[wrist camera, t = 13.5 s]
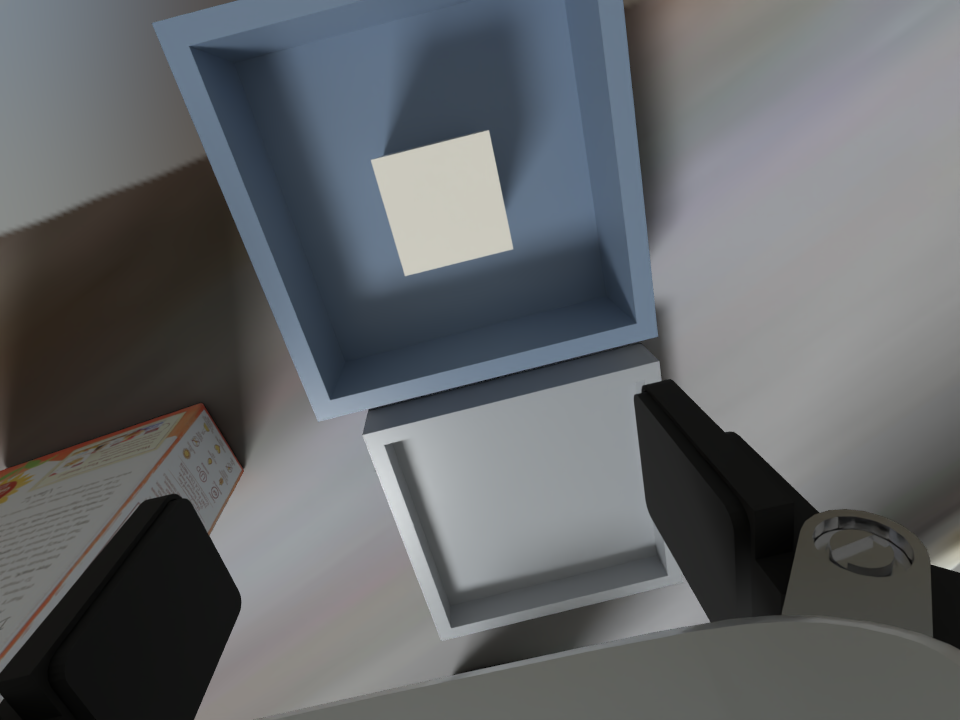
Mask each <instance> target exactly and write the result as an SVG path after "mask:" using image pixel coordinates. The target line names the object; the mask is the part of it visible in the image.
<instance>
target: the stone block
mask: <svg viewBox="0 0 960 720" xmlns="http://www.w3.org/2000/svg"><path fill="white" fill-rule="evenodd" d="M371 163H372V166H373V170H374V173H375V176H376V180H377V183H378V186H379V190H380V193H381V197H382V200H383V203H384V207H385V210H386V214H387V217H388V220H389V224H390V227H391V230H392V234H393V237H394V241H395V244H396V247H397V251H398V254H399V257H400V261H401V264H402V268H403V271H404V274H405V276H408V275H412V274H416V273H420V272H424V271H428V270H432V269H436V268H440V267H444V266H448V265H452V264H456V263H460V262H464V261H468V260H472V259H476V258H480V257H484V256H488V255H492V254H496V253H500V252H504V251H508V250H512V249H513V245H512V240H511V235H510V230H509V225H508V220H507V215H506V211H505V206H504V201H503V196H502V191H501V186H500V181H499V176H498V172H497V167H496V162H495V157H494V152H493V147H492V142H491V138H490V133H489V130H486V131H479V132H474V133H470V134H466V135H462V136H458V137H454V138H450V139H447V140H443V141H439V142H435V143H431V144H427V145H423V146H419V147H415V148H411V149H407V150H403V151H399V152H395V153H391V154H387V155H383V156H381V157H378V158H375V159H372V160H371Z"/></svg>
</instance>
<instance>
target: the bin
mask: <svg viewBox="0 0 960 720" xmlns="http://www.w3.org/2000/svg"><path fill="white" fill-rule="evenodd" d="M152 25H153V27H154V30H155V32H156V34H157V37H158V39H159V42H160V44H161V46H162V49H163V51H164V53H165V56H166V58H167V61H168V63H169V65H170V68H171V70H172V73H173V75H174V78H175V80H176V82H177V85H178V87H179V90H180V92H181V94H182V97H183V99H184V101H185V104H186V106H187V109H188V111H189V114H190V116H191V118H192V120H193V123H194V125H195V127H196V130H197V133H198V135H199V137H200V140H201V142H202V145H203V147H204V149H205V152H206V154H207V157H208V159H209V161H210V164H211V166H212V169H213V171H214V173H215V176H216V178H217V181H218V183H219V185H220V188H221V190H222V193H223V195H224V197H225V200H226V202H227V205H228V207H229V209H230V212H231V214H232V217H233V219H234V221H235V224H236V226H237V228H238V231H239V233H240V236H241V238H242V240H243V243H244V245H245V248H246V250H247V252H248V255H249V257H250V260H251V262H252V264H253V267H254V269H255V272H256V274H257V276H258V279H259V281H260V284H261V286H262V288H263V291H264V293H265V296H266V298H267V300H268V303H269V305H270V308H271V310H272V312H273V315H274V317H275V320H276V322H277V324H278V327H279V329H280V331H281V334H282V336H283V339H284V341H285V343H286V346H287V348H288V351H289V353H290V355H291V358H292V360H293V363H294V365H295V367H296V370H297V372H298V375H299V377H300V379H301V382H302V384H303V387H304V389H305V391H306V394H307V396H308V399H309V401H310V403H311V406H312V408H313V411H314V413H315V415H316V418H317V420H318V422H319V421H323V420H327V419H331V418H335V417H339V416H343V415H347V414H351V413H355V412H359V411H363V410H367V409H371V408H375V407H379V406H383V405H387V404H391V403H395V402H399V401H403V400H407V399H411V398H415V397H419V396H423V395H427V394H431V393H435V392H439V391H443V390H447V389H451V388H455V387H459V386H463V385H467V384H471V383H475V382H479V381H483V380H487V379H491V378H495V377H499V376H503V375H507V374H511V373H515V372H519V371H523V370H527V369H531V368H535V367H539V366H543V365H547V364H551V363H555V362H559V361H563V360H567V359H571V358H575V357H579V356H583V355H587V354H591V353H595V352H599V351H603V350H607V349H611V348H615V347H619V346H623V345H627V344H631V343H635V342H639V341H643V340H647V339H651V338H655V337H658V331H657V321H656V312H655V302H654V293H653V283H652V273H651V264H650V254H649V245H648V235H647V225H646V216H645V206H644V197H643V187H642V178H641V168H640V158H639V149H638V139H637V130H636V120H635V111H634V101H633V91H632V82H631V72H630V63H629V53H628V43H627V34H626V24H625V15H624V5H623V0H237V1H233V2H230V3H226V4H222V5H218V6H214V7H211V8H207V9H203V10H199V11H196V12H192V13H188V14H184V15H180V16H177V17H173V18H169V19H165V20H162V21H158V22H154V23H152ZM486 130H489V133H490V138H491V142H492V147H493V152H494V157H495V162H496V167H497V172H498V176H499V181H500V186H501V191H502V196H503V201H504V206H505V211H506V215H507V220H508V225H509V230H510V235H511V240H512V245H513V249H512V250H508V251H504V252H500V253H496V254H492V255H488V256H484V257H480V258H476V259H472V260H468V261H464V262H460V263H456V264H452V265H448V266H444V267H440V268H436V269H432V270H428V271H424V272H420V273H416V274H412V275H408V276H405V274H404V271H403V268H402V264H401V261H400V257H399V254H398V251H397V247H396V244H395V241H394V237H393V234H392V230H391V227H390V224H389V220H388V217H387V214H386V210H385V207H384V203H383V200H382V197H381V193H380V190H379V186H378V183H377V180H376V176H375V173H374V170H373V166H372V163H371V160H372V159H375V158H378V157H381V156H383V155H387V154H391V153H395V152H399V151H403V150H407V149H411V148H415V147H419V146H423V145H427V144H431V143H435V142H439V141H443V140H447V139H450V138H454V137H458V136H462V135H466V134H470V133H474V132H479V131H486Z"/></svg>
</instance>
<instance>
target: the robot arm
mask: <svg viewBox="0 0 960 720" xmlns="http://www.w3.org/2000/svg"><path fill="white" fill-rule="evenodd" d="M634 408H635V416H636V425H637V433H638V442H639V450H640V459H641V467H642V476H643V484H644V493H645V501H646V505H647V509H648V512H649V514H650V517H651V519H652V520H653V522H654V524H655V526H656V527H657V529H658V531H659V533H660V534H661V536H662V538H663V540H664V541H665V543H666V545H667V547H668V548H669V550H670V552H671V554H672V555H673V557H674V559H675V561H676V562H677V564H678V566H679V568H680V569H681V571H682V573H683V575H684V576H685V578H686V580H687V582H688V583H689V585H690V587H691V589H692V590H693V592H694V594H695V596H696V597H697V599H698V601H699V603H700V604H701V606H702V608H703V610H704V611H705V613H706V615H707V617H708V618H709V620H710V622H711V623H705V624H699V625H694V626H688V627H681V628H676V629H670V630H665V631H659V632H654V633H648V634H644V635H639V636H635V637H630V638H625V639H621V640H616V641H611V642H606V643H601V644H596V645H591V646H586V647H581V648H577V649H572V650H567V651H563V652H558V653H554V654H549V655H544V656H540V657H535V658H530V659H526V660H521V661H517V662H512V663H507V664H503V665H498V666H494V667H489V668H484V669H480V670H475V671H471V672H466V673H461V674H457V675H452V676H448V677H443V678H438V679H434V680H429V681H425V682H420V683H416V684H411V685H407V686H402V687H398V688H393V689H389V690H384V691H380V692H375V693H371V694H366V695H362V696H357V697H353V698H348V699H344V700H339V701H335V702H330V703H326V704H321V705H317V706H313V707H308V708H304V709H299V710H295V711H290V712H286V713H281V714H277V715H272V716H268V717H263V718H259V719H255V720H960V573H958V572H955V571H952V570H948V569H944V568H941V567H937V566H934V565H930V558H929V555H928V552H927V548H926V547H925V546H924V544H923V543H922V542H921V541H920V540H919V538H918V537H917V536H916V535H915V534H913V533H912V532H911V531H909V530H908V529H906V528H905V527H904V526H902V525H901V524H898V523H896V522H894V521H892V520H890V519H888V518H886V517H883V516H880V515H876V514H873V513H869V512H865V511H858V510H849V509H840V510H828V511H825V512H821V513H819V512H818V511H817V510H816V509H815V508H814V507H813V506H812V505H811V504H810V503H809V502H808V501H807V500H805V499H804V498H803V497H802V496H801V495H800V494H799V493H798V492H797V491H796V490H795V489H794V488H793V487H792V486H791V485H790V484H789V483H788V482H787V481H786V480H785V479H784V478H783V477H782V476H781V475H780V474H778V473H777V472H776V471H775V470H774V469H773V468H772V467H771V466H770V465H769V464H768V463H767V462H766V461H765V460H764V459H763V458H762V457H761V456H760V455H759V454H758V453H757V452H756V451H755V450H754V449H753V448H752V447H750V446H749V445H748V444H747V443H746V442H745V441H744V440H743V439H742V438H741V437H740V436H739V435H737V434H736V433H735V432H724V431H723V430H722V429H721V428H720V427H719V426H718V425H717V424H716V423H715V422H714V421H713V420H712V419H711V418H710V417H709V416H708V415H707V414H706V413H705V412H704V411H703V410H702V409H701V408H700V407H699V406H698V405H697V404H696V403H695V402H694V401H693V400H692V399H691V398H690V397H689V396H688V395H687V394H686V393H685V392H684V391H683V390H682V389H681V388H680V387H679V386H678V385H677V384H676V383H675V382H674V381H673V380H671V379H668V380H664V381H660V382H655V383H651V384H647V385H643V386H642V389H641V393H639V394H635V395H634ZM240 609H241V596H240V593H239V590H238V589H237V587H236V585H235V583H234V581H233V579H232V577H231V576H230V574H229V572H228V570H227V568H226V566H225V564H224V562H223V561H222V559H221V557H220V555H219V553H218V551H217V549H216V548H215V546H214V544H213V542H212V540H211V538H210V536H209V534H208V533H207V531H206V529H205V527H204V525H203V523H202V521H201V520H200V518H199V516H198V514H197V512H196V510H195V508H194V506H193V505H192V503H191V502H190V501H189V500H188V499H186V498H182V497H181V496H179V495H178V494H169V495H165V496H161V497H156V498H152V499H148V500H145V501H143V502H142V503H141V504H140V505H139V506H138V508H137V509H136V510H135V511H134V512H133V514H132V515H131V516H130V517H129V518H128V520H127V521H126V522H125V523H124V524H123V526H122V527H121V528H120V529H119V530H118V532H117V533H116V534H115V535H114V536H113V538H112V539H111V540H110V541H109V542H108V544H107V545H106V546H105V547H104V549H103V550H102V551H101V552H100V553H99V555H98V556H97V557H96V558H95V559H94V561H93V562H92V563H91V564H90V565H89V567H88V568H87V569H86V570H85V571H84V573H83V574H82V575H81V576H80V577H79V579H78V580H77V581H76V582H75V583H74V585H73V586H72V587H71V588H70V589H69V591H68V592H67V593H66V594H65V595H64V597H63V598H62V599H61V600H60V601H59V603H58V604H57V605H56V606H55V608H54V609H53V610H52V611H51V612H50V614H49V615H48V616H47V617H46V618H45V620H44V621H43V622H42V623H41V624H40V626H39V627H38V628H37V629H36V630H35V632H34V633H33V634H32V635H31V636H30V638H29V639H28V640H27V641H26V642H25V644H24V645H23V646H22V647H21V648H20V650H19V651H18V652H17V653H16V654H15V656H14V657H13V658H12V659H11V660H10V662H9V663H8V664H7V665H6V666H5V668H4V669H3V670H2V671H1V673H0V694H1V695H2V697H3V698H4V699H3V700H2V701H1V703H0V720H194V718H195V716H196V714H197V711H198V709H199V706H200V704H201V702H202V699H203V697H204V695H205V692H206V690H207V688H208V685H209V683H210V681H211V678H212V676H213V674H214V671H215V669H216V667H217V664H218V662H219V659H220V657H221V655H222V652H223V650H224V648H225V645H226V643H227V641H228V638H229V636H230V634H231V631H232V629H233V627H234V624H235V622H236V620H237V617H238V615H239V612H240Z"/></svg>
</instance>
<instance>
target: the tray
mask: <svg viewBox="0 0 960 720" xmlns="http://www.w3.org/2000/svg"><path fill="white" fill-rule="evenodd" d="M660 381H661V371H660V362H659V360H658V359H657V358H656V357H655V356H654V355H653V354H652V353H651V352H650V351H649V350H648V349H647V348H646V347H645V346H644V345H643V344H642V343H638V344H634V345H630V346H626V347H622V348H618V349H614V350H610V351H606V352H602V353H598V354H594V355H590V356H586V357H582V358H578V359H574V360H570V361H566V362H562V363H558V364H554V365H550V366H546V367H542V368H538V369H534V370H530V371H526V372H522V373H518V374H514V375H510V376H506V377H502V378H498V379H494V380H490V381H486V382H482V383H478V384H474V385H470V386H466V387H462V388H458V389H454V390H450V391H446V392H442V393H438V394H434V395H430V396H426V397H422V398H418V399H414V400H410V401H406V402H402V403H398V404H394V405H390V406H386V407H382V408H378V409H374V410H370V411H368V414H367V418H366V422H365V427H364V431H363V438H364V440H365V443H366V446H367V448H368V451H369V454H370V456H371V459H372V461H373V464H374V467H375V469H376V472H377V474H378V477H379V480H380V482H381V485H382V488H383V490H384V493H385V495H386V498H387V501H388V503H389V506H390V508H391V511H392V514H393V516H394V519H395V522H396V524H397V527H398V529H399V532H400V535H401V537H402V540H403V542H404V545H405V548H406V550H407V553H408V556H409V558H410V561H411V563H412V566H413V569H414V571H415V574H416V576H417V579H418V582H419V584H420V587H421V590H422V592H423V595H424V597H425V600H426V603H427V605H428V608H429V610H430V613H431V616H432V618H433V621H434V624H435V626H436V629H437V631H438V634H439V637H440V639H441V641H444V640H448V639H452V638H456V637H460V636H464V635H468V634H472V633H477V632H481V631H485V630H489V629H493V628H497V627H501V626H505V625H510V624H514V623H518V622H522V621H526V620H530V619H534V618H538V617H543V616H547V615H551V614H555V613H559V612H563V611H567V610H571V609H575V608H580V607H584V606H588V605H592V604H596V603H600V602H604V601H608V600H613V599H617V598H621V597H625V596H629V595H633V594H637V593H641V592H646V591H650V590H654V589H658V588H662V587H666V586H670V585H674V584H678V583H683V580H682V571H681V569H680V568H679V566H678V564H677V562H676V561H675V559H674V557H673V555H672V554H671V552H670V550H669V548H668V547H667V545H666V543H665V541H664V540H663V538H662V536H661V534H660V533H659V531H658V529H657V527H656V526H655V524H654V522H653V520H652V519H651V517H650V514H649V512H648V509H647V505H646V501H645V493H644V484H643V476H642V467H641V459H640V450H639V442H638V433H637V425H636V416H635V408H634V395H635V394H639V393H641V389H642V386H643V385H647V384H651V383H655V382H660Z"/></svg>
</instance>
